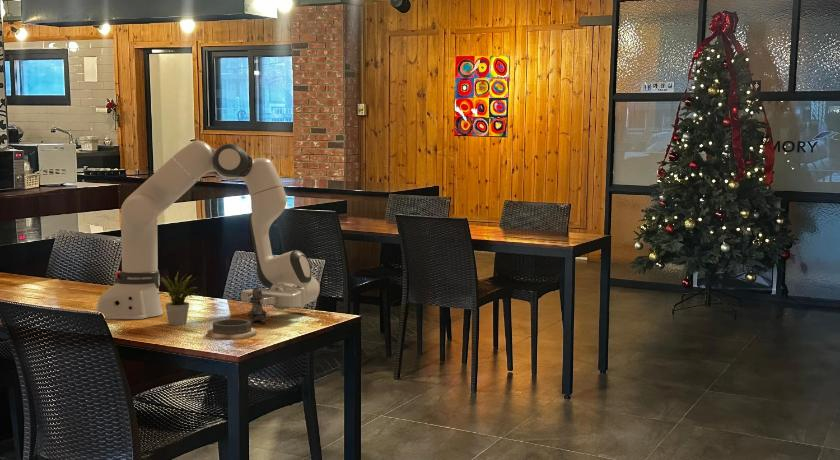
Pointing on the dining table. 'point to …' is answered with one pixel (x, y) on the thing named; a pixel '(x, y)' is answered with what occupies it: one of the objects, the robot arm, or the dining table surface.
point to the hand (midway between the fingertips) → (255, 300)
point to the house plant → (177, 300)
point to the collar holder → (231, 329)
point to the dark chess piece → (257, 308)
